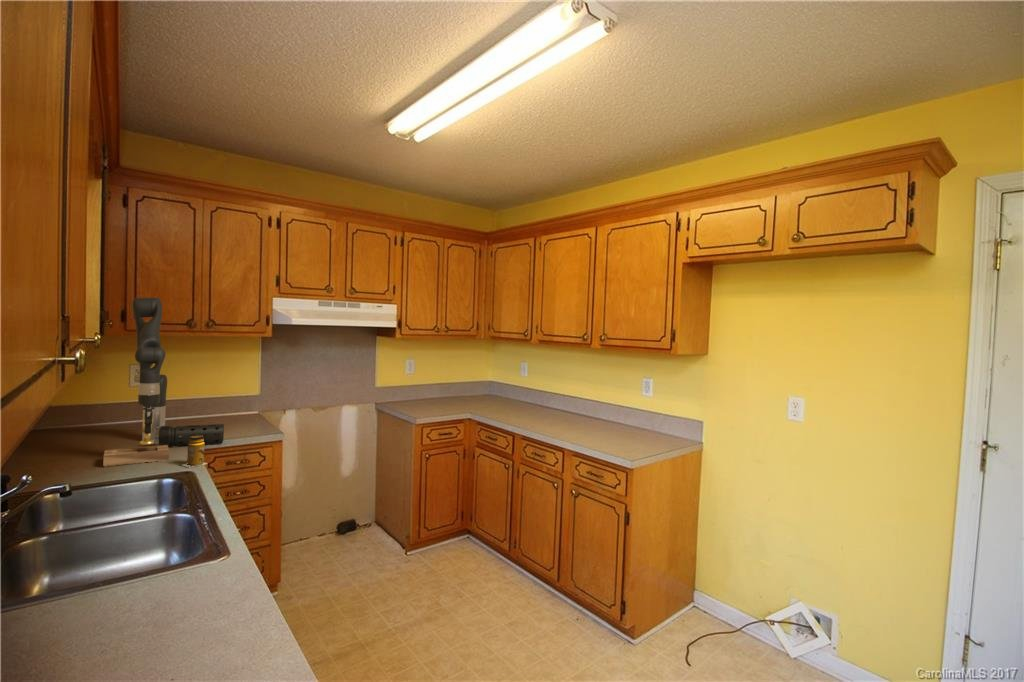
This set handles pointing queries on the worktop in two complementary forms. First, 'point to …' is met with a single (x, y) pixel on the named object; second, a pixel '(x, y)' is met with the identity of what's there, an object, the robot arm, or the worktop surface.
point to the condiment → (196, 451)
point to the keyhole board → (136, 455)
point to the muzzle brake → (188, 434)
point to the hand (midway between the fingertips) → (147, 432)
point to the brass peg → (147, 435)
